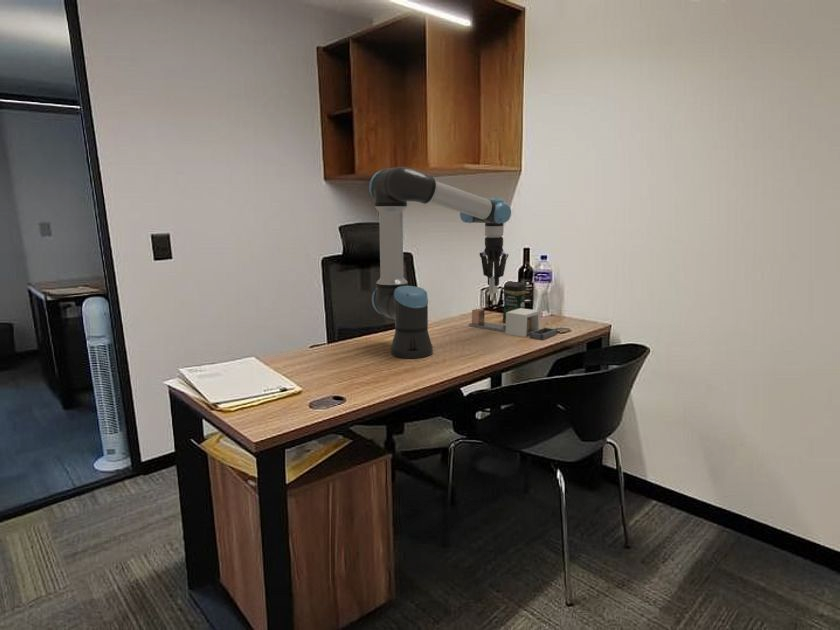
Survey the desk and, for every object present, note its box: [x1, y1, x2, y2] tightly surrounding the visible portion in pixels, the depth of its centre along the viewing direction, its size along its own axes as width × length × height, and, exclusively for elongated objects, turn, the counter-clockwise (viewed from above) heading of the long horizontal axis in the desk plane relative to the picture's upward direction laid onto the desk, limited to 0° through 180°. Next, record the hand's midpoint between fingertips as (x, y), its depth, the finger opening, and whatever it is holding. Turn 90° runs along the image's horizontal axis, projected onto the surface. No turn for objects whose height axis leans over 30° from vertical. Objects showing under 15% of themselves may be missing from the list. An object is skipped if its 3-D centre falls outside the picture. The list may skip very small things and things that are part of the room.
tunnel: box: [505, 308, 541, 338], centre depth 211 cm, size 11×9×9 cm
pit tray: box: [529, 327, 558, 341], centre depth 205 cm, size 12×6×2 cm, turn 139°
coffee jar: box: [502, 281, 527, 324], centre depth 229 cm, size 10×8×19 cm
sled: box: [468, 308, 534, 336], centre depth 218 cm, size 7×28×7 cm, turn 49°
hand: (493, 292), depth 218 cm, fingers closed
